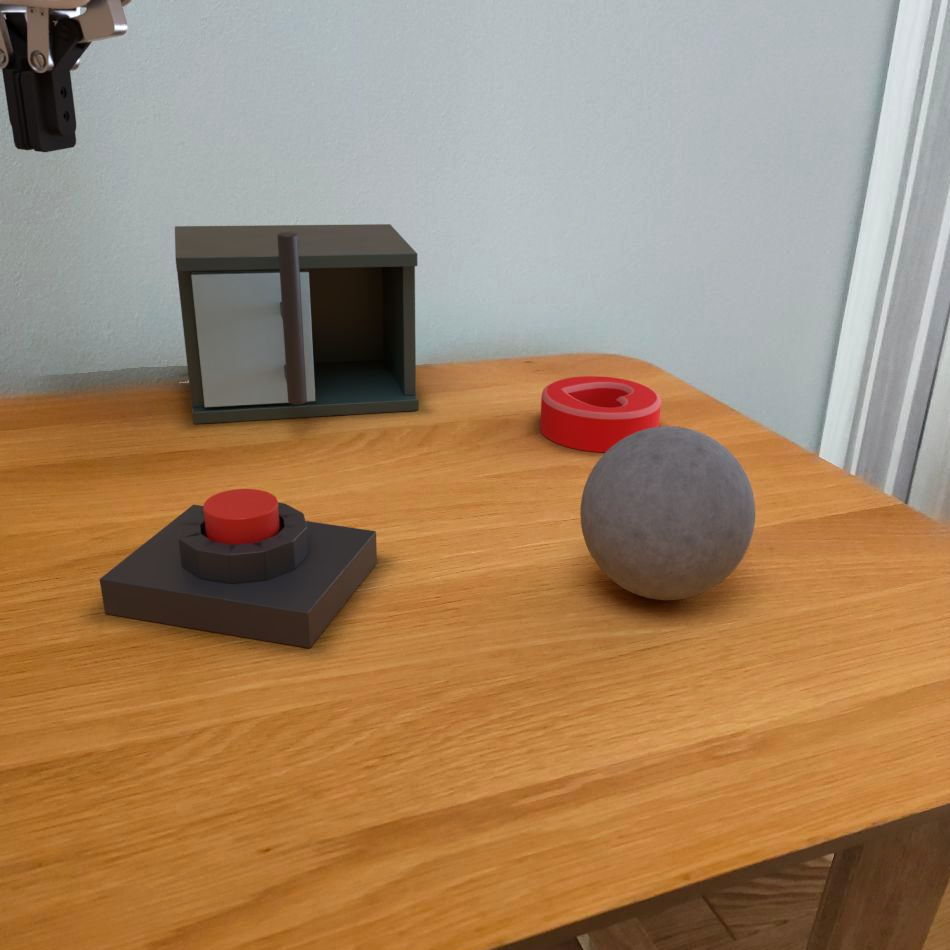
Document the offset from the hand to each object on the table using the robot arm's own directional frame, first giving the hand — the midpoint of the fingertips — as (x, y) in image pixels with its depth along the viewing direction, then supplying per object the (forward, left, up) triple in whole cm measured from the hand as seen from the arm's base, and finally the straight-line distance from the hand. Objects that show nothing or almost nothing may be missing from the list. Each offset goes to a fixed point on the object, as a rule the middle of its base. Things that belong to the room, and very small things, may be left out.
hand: (46, 147), depth 59 cm
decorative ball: (+36, +1, -23) cm, 43 cm away
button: (+13, -6, -19) cm, 24 cm away
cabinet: (+2, +26, -23) cm, 34 cm away
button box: (+13, -6, -23) cm, 27 cm away
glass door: (+3, +17, -21) cm, 27 cm away
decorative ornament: (+28, +26, -23) cm, 45 cm away
